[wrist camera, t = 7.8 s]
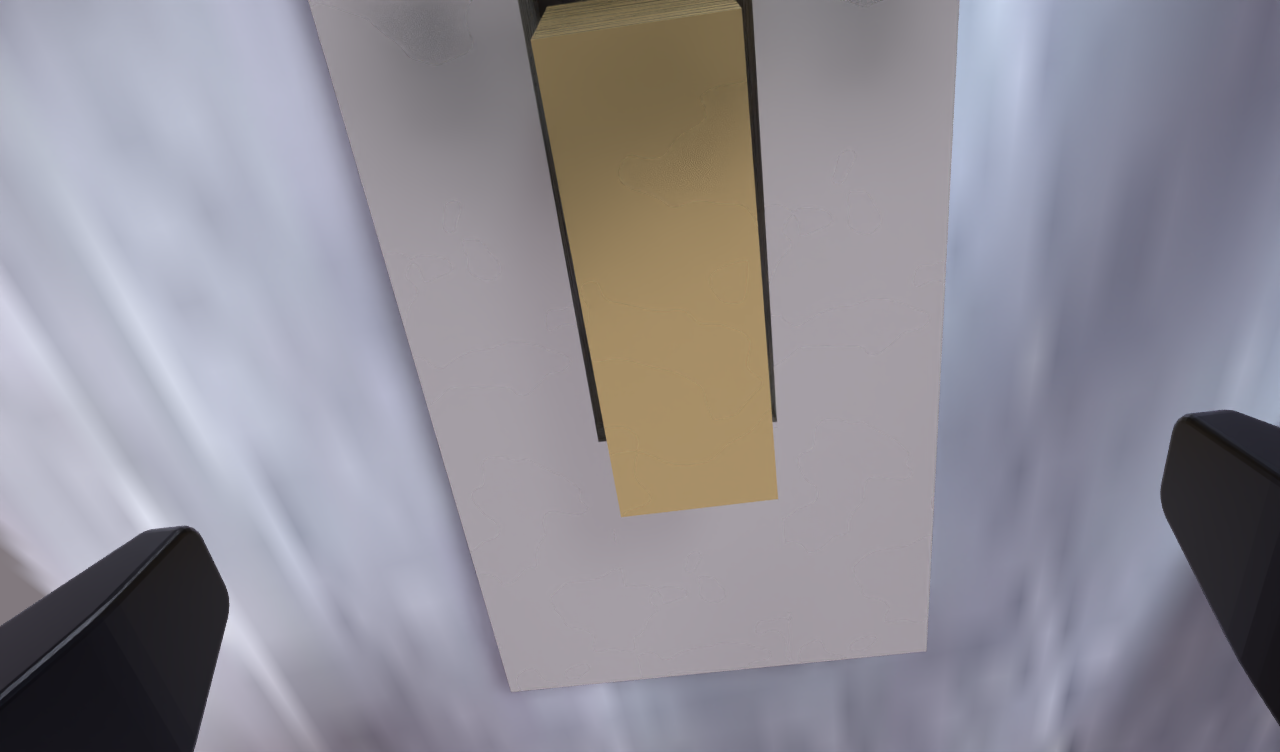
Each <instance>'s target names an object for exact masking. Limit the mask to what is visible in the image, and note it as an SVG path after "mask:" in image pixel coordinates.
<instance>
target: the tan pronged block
mask: <svg viewBox="0 0 1280 752" xmlns="http://www.w3.org/2000/svg"><path fill="white" fill-rule="evenodd" d="M531 45H532V50H533V55H534V60H535V66H536V71H537V76H538V82H539V87H540V92H541V97H542V103H543V108H544V113H545V118H546V124H547V129H548V134H549V140H550V145H551V150H552V155H553V161H554V166H555V171H556V176H557V182H558V187H559V192H560V198H561V203H562V208H563V213H564V219H565V224H566V229H567V234H568V240H569V245H570V250H571V256H572V261H573V266H574V271H575V277H576V282H577V287H578V292H579V298H580V303H581V308H582V314H583V319H584V324H585V329H586V335H587V340H588V345H589V350H590V356H591V361H592V366H593V372H594V377H595V382H596V387H597V393H598V398H599V403H600V408H601V414H602V419H603V424H604V430H605V435H606V440H607V445H608V451H609V456H610V461H611V467H612V472H613V477H614V482H615V488H616V493H617V498H618V503H619V509H620V514H621V517H629V516H637V515H646V514H655V513H663V512H672V511H680V510H689V509H698V508H706V507H715V506H724V505H732V504H741V503H749V502H758V501H767V500H775V499H778V490H777V477H776V463H775V450H774V436H773V423H772V409H771V396H770V382H769V369H768V356H767V342H766V329H765V315H764V302H763V288H762V275H761V261H760V248H759V235H758V221H757V208H756V194H755V181H754V167H753V154H752V140H751V127H750V114H749V100H748V87H747V73H746V60H745V46H744V33H743V20H742V8H741V7H740V6H739V4H738V3H737V1H736V0H587V1H580V2H574V3H567V4H560V5H554V6H547V8H546V10H545V12H544V14H543V16H542V18H541V20H540V22H539V24H538V26H537V28H536V30H535V32H534V34H533V36H532V38H531Z"/></svg>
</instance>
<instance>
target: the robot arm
mask: <svg viewBox="0 0 1280 752" xmlns="http://www.w3.org/2000/svg"><path fill="white" fill-rule="evenodd" d="M1160 492H1161V503H1162V508H1163V511H1164V514H1165V516H1166V519H1167V521H1168V523H1169V525H1170V527H1171V529H1172V531H1173V533H1174V535H1175V537H1176V539H1177V541H1178V543H1179V545H1180V547H1181V549H1182V551H1183V553H1184V555H1185V557H1186V559H1187V561H1188V563H1189V565H1190V567H1191V569H1192V571H1193V573H1194V575H1195V577H1196V579H1197V581H1198V583H1199V585H1200V587H1201V589H1202V591H1203V593H1204V595H1205V597H1206V599H1207V601H1208V603H1209V605H1210V607H1211V609H1212V611H1213V613H1214V615H1215V617H1216V619H1217V621H1218V623H1219V625H1220V627H1221V629H1222V631H1223V633H1224V635H1225V637H1226V638H1227V640H1228V642H1229V644H1230V646H1231V648H1232V650H1233V651H1234V653H1235V655H1236V657H1237V659H1238V661H1239V662H1240V664H1241V666H1242V667H1243V669H1244V671H1245V672H1246V674H1247V675H1248V677H1249V679H1250V680H1251V682H1252V684H1253V685H1254V687H1255V689H1256V690H1257V692H1258V693H1259V695H1260V696H1261V698H1262V699H1263V701H1264V702H1265V704H1266V706H1267V707H1268V709H1269V710H1270V712H1271V713H1272V715H1273V716H1274V718H1275V720H1276V721H1277V723H1278V724H1279V726H1280V428H1279V427H1277V426H1274V425H1271V424H1269V423H1266V422H1263V421H1261V420H1258V419H1255V418H1253V417H1250V416H1247V415H1245V414H1242V413H1239V412H1236V411H1233V410H1218V411H1209V412H1200V413H1191V414H1186V415H1184V416H1182V417H1181V418H1180V419H1178V421H1177V422H1176V424H1175V425H1174V428H1173V431H1172V435H1171V440H1170V445H1169V450H1168V455H1167V459H1166V464H1165V469H1164V474H1163V478H1162V483H1161V491H1160ZM228 614H229V596H228V592H227V589H226V586H225V584H224V582H223V580H222V578H221V575H220V573H219V571H218V569H217V567H216V565H215V563H214V561H213V559H212V557H211V555H210V553H209V551H208V549H207V547H206V544H205V542H204V540H203V538H202V537H201V535H200V533H199V532H197V531H196V530H195V529H194V528H192V527H189V526H176V527H167V528H158V529H151V530H147V531H144V532H143V533H141V534H139V535H138V536H136V537H135V538H133V539H132V540H130V541H129V542H127V543H126V544H124V545H123V546H121V547H119V548H118V549H116V550H115V551H113V552H112V553H110V554H109V555H107V556H106V557H104V558H103V559H101V560H100V561H98V562H97V563H95V564H94V565H92V566H91V567H89V568H88V569H86V570H85V571H83V572H82V573H80V574H79V575H77V576H76V577H74V578H72V579H71V580H69V581H68V582H66V583H65V584H63V585H62V586H60V587H59V588H57V589H56V590H54V591H53V592H51V593H50V594H48V595H47V596H45V597H44V598H42V599H41V600H39V601H38V602H36V603H35V604H33V605H32V606H30V607H29V608H27V609H25V610H24V611H22V612H21V613H20V614H18V615H16V616H15V617H14V618H12V619H11V620H9V621H7V622H6V623H4V624H3V625H1V626H0V752H194V748H195V745H196V741H197V738H198V734H199V730H200V726H201V722H202V718H203V714H204V710H205V706H206V702H207V698H208V694H209V690H210V686H211V682H212V678H213V674H214V670H215V667H216V663H217V659H218V655H219V651H220V647H221V643H222V639H223V635H224V631H225V627H226V623H227V619H228Z"/></svg>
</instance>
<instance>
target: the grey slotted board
mask: <svg viewBox="0 0 1280 752" xmlns="http://www.w3.org/2000/svg"><path fill="white" fill-rule="evenodd" d="M580 1H587V0H308V2H309V5H310V9H311V12H312V15H313V19H314V22H315V26H316V29H317V32H318V36H319V39H320V43H321V46H322V49H323V53H324V56H325V60H326V63H327V66H328V70H329V73H330V77H331V80H332V84H333V87H334V90H335V94H336V97H337V101H338V104H339V107H340V111H341V114H342V118H343V121H344V124H345V128H346V131H347V135H348V138H349V141H350V145H351V148H352V152H353V155H354V158H355V162H356V165H357V169H358V172H359V175H360V179H361V182H362V186H363V189H364V193H365V196H366V199H367V203H368V206H369V210H370V213H371V216H372V220H373V223H374V227H375V230H376V233H377V237H378V240H379V244H380V247H381V250H382V254H383V257H384V261H385V264H386V267H387V271H388V274H389V278H390V281H391V285H392V288H393V291H394V295H395V298H396V302H397V305H398V308H399V312H400V315H401V319H402V322H403V325H404V329H405V332H406V336H407V339H408V342H409V346H410V349H411V353H412V356H413V359H414V363H415V366H416V370H417V373H418V377H419V380H420V383H421V387H422V390H423V394H424V397H425V400H426V404H427V407H428V411H429V414H430V417H431V421H432V424H433V428H434V431H435V434H436V438H437V441H438V445H439V448H440V451H441V455H442V458H443V462H444V465H445V468H446V472H447V475H448V479H449V482H450V486H451V489H452V492H453V496H454V499H455V503H456V506H457V509H458V513H459V516H460V520H461V523H462V526H463V530H464V533H465V537H466V540H467V543H468V547H469V550H470V554H471V557H472V560H473V564H474V567H475V571H476V574H477V578H478V581H479V584H480V588H481V591H482V595H483V598H484V601H485V605H486V608H487V612H488V615H489V618H490V622H491V625H492V629H493V632H494V635H495V639H496V642H497V646H498V649H499V652H500V656H501V659H502V663H503V666H504V670H505V673H506V676H507V680H508V683H509V687H510V690H511V692H517V691H527V690H537V689H548V688H558V687H568V686H578V685H588V684H599V683H609V682H619V681H629V680H639V679H650V678H660V677H670V676H680V675H690V674H700V673H711V672H721V671H731V670H741V669H751V668H762V667H772V666H782V665H792V664H802V663H813V662H823V661H833V660H843V659H853V658H864V657H874V656H884V655H894V654H904V653H915V652H925V651H926V650H927V630H928V611H929V591H930V571H931V551H932V532H933V512H934V492H935V473H936V453H937V433H938V413H939V394H940V374H941V354H942V334H943V315H944V295H945V275H946V256H947V236H948V216H949V196H950V177H951V157H952V137H953V118H954V98H955V78H956V58H957V39H958V19H959V0H736V1H737V3H738V4H739V6H740V7H741V8H742V20H743V33H744V46H745V60H746V73H747V87H748V100H749V114H750V127H751V140H752V154H753V167H754V181H755V194H756V208H757V221H758V235H759V248H760V261H761V275H762V288H763V302H764V315H765V329H766V342H767V356H768V369H769V382H770V396H771V409H772V423H773V436H774V450H775V463H776V477H777V490H778V499H775V500H767V501H758V502H749V503H741V504H732V505H724V506H715V507H706V508H698V509H689V510H680V511H672V512H663V513H655V514H646V515H637V516H629V517H621V514H620V509H619V503H618V498H617V493H616V488H615V482H614V477H613V472H612V467H611V461H610V456H609V451H608V445H607V440H606V435H605V430H604V424H603V419H602V414H601V408H600V403H599V398H598V393H597V387H596V382H595V377H594V372H593V366H592V361H591V356H590V350H589V345H588V340H587V335H586V329H585V324H584V319H583V314H582V308H581V303H580V298H579V292H578V287H577V282H576V277H575V271H574V266H573V261H572V256H571V250H570V245H569V240H568V234H567V229H566V224H565V219H564V213H563V208H562V203H561V198H560V192H559V187H558V182H557V176H556V171H555V166H554V161H553V155H552V150H551V145H550V140H549V134H548V129H547V124H546V118H545V113H544V108H543V103H542V97H541V92H540V87H539V82H538V76H537V71H536V66H535V60H534V55H533V50H532V45H531V38H532V36H533V34H534V32H535V30H536V28H537V26H538V24H539V22H540V20H541V18H542V16H543V14H544V12H545V10H546V8H547V6H554V5H560V4H567V3H574V2H580Z"/></svg>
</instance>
